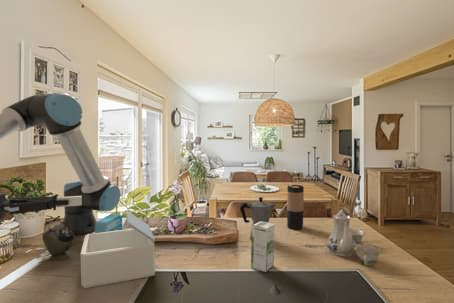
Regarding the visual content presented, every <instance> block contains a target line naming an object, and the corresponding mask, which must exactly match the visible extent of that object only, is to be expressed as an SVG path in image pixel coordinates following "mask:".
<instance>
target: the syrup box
mask: <svg viewBox="0 0 454 303" xmlns="http://www.w3.org/2000/svg"><path fill="white" fill-rule="evenodd" d="M275 227H276V225H275V223H274V224H273V223H270V222H269V223H268V222H258V223H256V224H254V225H251V229H252V241H251V240H250V241H251V242H250V243H251V245H250V246H251V248H250V250H251V252H250V253H251V254H250V256H251V257H250V268H251V269H255V270H258V271H261V272H265V273H267V272H268V271H269V270H270V269H271V268H272V267H274V265H275V263H274V262H275V261H274V260H275Z"/></svg>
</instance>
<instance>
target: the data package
mask: <svg viewBox="0 0 454 303" xmlns="http://www.w3.org/2000/svg"><path fill="white" fill-rule="evenodd" d="M96 221H97V222H96V224H95V230H94V233H102V232H110V231H119V230H123V216H122V215H121V214H109V215H107V216H105V217H103V218H101V219H99V220H96Z"/></svg>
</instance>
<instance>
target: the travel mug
mask: <svg viewBox="0 0 454 303" xmlns="http://www.w3.org/2000/svg"><path fill="white" fill-rule="evenodd" d="M304 187H305V186H304V185H301V184H292V185H287V188H286V189H287V192H286V195H287V196H286V203H287V204H286V208H287V209H286V220H287V222H286V223H287V224H286V226H287V229H288V230H293V231H301V230H302V229H303V228H304V209H305V207H304V206H305V204H304V201H305V200H304V199H305V197H304V196H305V195H304V194H305V193H304V190H305V189H304Z"/></svg>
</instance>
